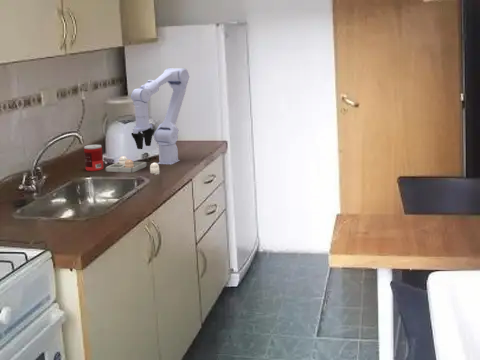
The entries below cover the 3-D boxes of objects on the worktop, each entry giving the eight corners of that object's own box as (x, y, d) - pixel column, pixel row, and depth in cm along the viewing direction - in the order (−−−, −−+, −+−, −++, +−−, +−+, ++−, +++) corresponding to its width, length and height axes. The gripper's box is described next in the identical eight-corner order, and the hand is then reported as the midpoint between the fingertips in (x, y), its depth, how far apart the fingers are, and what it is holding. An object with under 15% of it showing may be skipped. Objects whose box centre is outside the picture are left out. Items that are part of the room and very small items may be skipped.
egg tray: (120, 166, 307) (120, 161, 306) (147, 167, 303) (146, 162, 302) (105, 172, 295) (105, 167, 294) (133, 173, 291) (132, 168, 290)
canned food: (105, 168, 304) (103, 144, 301) (100, 172, 296) (98, 147, 293) (89, 168, 304) (87, 144, 302) (83, 172, 297) (81, 147, 294)
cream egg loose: (152, 172, 292) (152, 161, 291) (160, 173, 290) (160, 161, 289) (148, 174, 288) (148, 163, 287) (157, 175, 287) (156, 163, 286)
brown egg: (127, 169, 297) (127, 158, 296) (135, 169, 296) (134, 158, 295) (123, 171, 294) (122, 160, 292) (131, 171, 292) (130, 160, 291)
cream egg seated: (122, 165, 305) (121, 155, 304) (129, 166, 304) (128, 155, 302) (117, 167, 301) (117, 156, 300) (125, 168, 300) (124, 157, 299)
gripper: (141, 114, 301) (143, 144, 304) (125, 118, 288) (128, 150, 291) (155, 114, 299) (157, 144, 302) (140, 118, 285) (142, 150, 289)
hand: (144, 147), depth 296 cm, fingers open, 7 cm apart
